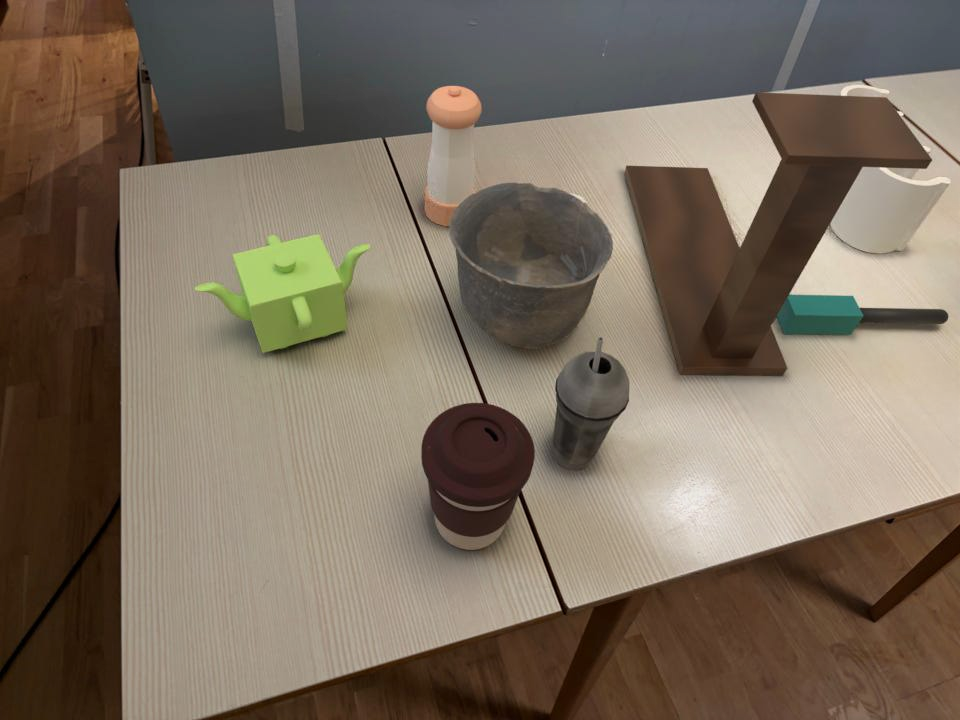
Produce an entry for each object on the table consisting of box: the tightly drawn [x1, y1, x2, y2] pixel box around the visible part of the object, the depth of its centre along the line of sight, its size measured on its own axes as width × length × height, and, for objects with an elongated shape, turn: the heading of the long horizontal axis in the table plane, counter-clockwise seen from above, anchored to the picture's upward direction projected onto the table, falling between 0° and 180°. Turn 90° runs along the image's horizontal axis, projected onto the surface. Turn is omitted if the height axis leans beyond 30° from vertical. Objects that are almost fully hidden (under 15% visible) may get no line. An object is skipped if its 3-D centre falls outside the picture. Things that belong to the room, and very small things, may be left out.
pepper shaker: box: [424, 85, 483, 227], centre depth 95 cm, size 7×7×19 cm
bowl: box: [448, 182, 614, 349], centre depth 84 cm, size 18×18×15 cm
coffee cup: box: [420, 402, 536, 551], centre depth 66 cm, size 10×10×15 cm
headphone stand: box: [623, 91, 933, 377], centre depth 86 cm, size 13×41×32 cm, turn 2°
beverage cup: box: [551, 336, 630, 471], centre depth 70 cm, size 7×7×20 cm
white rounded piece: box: [829, 84, 952, 254], centre depth 106 cm, size 25×10×12 cm, turn 179°
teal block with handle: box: [776, 294, 949, 336], centre depth 92 cm, size 22×4×4 cm, turn 92°
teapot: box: [194, 233, 372, 354], centre depth 83 cm, size 15×13×11 cm
